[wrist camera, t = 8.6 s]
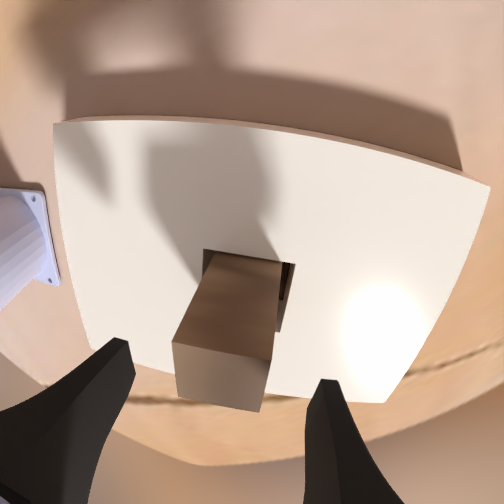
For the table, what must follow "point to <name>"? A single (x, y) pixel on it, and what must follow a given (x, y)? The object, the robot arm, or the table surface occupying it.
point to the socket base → (263, 239)
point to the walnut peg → (229, 333)
